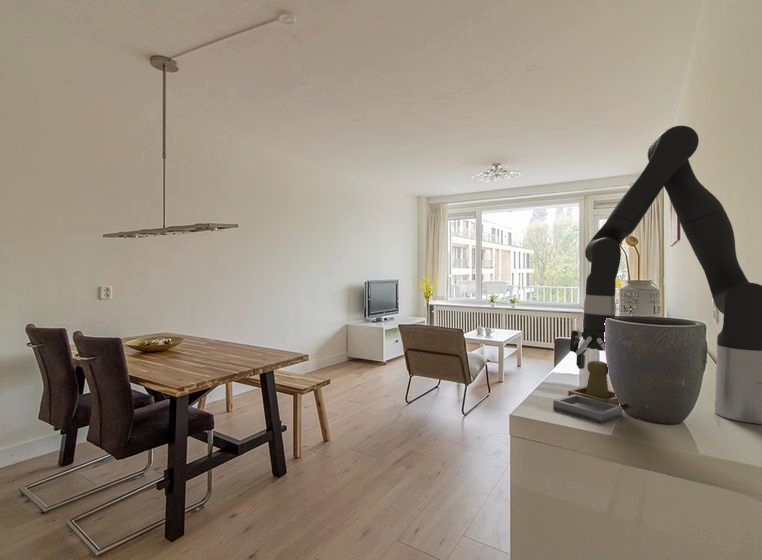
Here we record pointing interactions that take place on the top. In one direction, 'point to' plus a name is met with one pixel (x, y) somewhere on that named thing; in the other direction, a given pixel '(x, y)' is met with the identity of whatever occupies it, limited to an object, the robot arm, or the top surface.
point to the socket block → (582, 392)
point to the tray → (588, 408)
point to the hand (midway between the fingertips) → (596, 371)
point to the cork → (597, 380)
